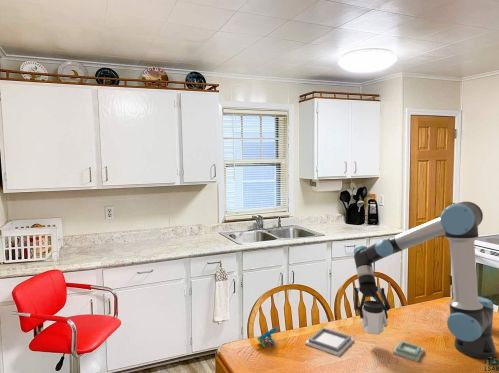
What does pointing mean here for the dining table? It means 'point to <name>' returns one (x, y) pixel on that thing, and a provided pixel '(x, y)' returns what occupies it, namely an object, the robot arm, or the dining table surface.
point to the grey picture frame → (330, 341)
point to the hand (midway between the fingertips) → (375, 325)
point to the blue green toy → (267, 334)
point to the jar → (373, 317)
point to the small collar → (408, 350)
